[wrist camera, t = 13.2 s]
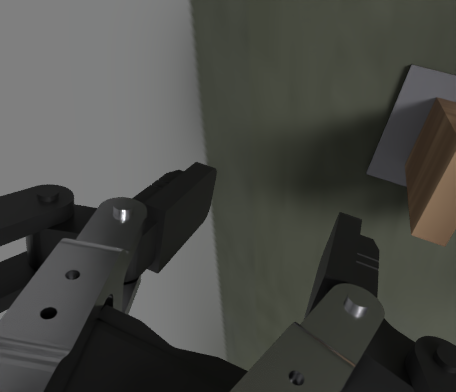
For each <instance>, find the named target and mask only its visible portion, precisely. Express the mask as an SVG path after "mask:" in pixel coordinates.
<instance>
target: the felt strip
mask: <svg viewBox="0 0 456 392" xmlns="http://www.w3.org/2000/svg"><path fill="white" fill-rule="evenodd" d="M436 97H438V98H442V99H446V100H449V101H453V102H456V75H453V74H449V73H445V72H441V71H436V70H432V69H428V68H424V67H420V66H416V65H412V64H411V67H410V69H409V71H408V74H407V76H406V79H405V81H404V83H403V86H402V88H401V91H400V93H399V95H398V98H397V100H396V103H395V105H394V107H393V110H392V112H391V115H390V117H389V119H388V122H387V124H386V127H385V129H384V131H383V134H382V136H381V139H380V141H379V143H378V146H377V148H376V151H375V153H374V155H373V158H372V160H371V163H370V165H369V167H368V170H367V173H366V174H368V175H371V176H374V177H377V178H380V179H384V180H387V181H390V182H393V183H396V184H399V185H402V186H405V187H407V185H406V174H405V164H406V161H407V159H408V157H409V155H410V153H411V151H412V149H413V146H414V144H415V142H416V140H417V138H418V136H419V134H420V132H421V129H422V127H423V125H424V123H425V121H426V119H427V117H428V114H429V112H430V110H431V108H432V106H433V104H434V102H435V99H436Z"/></svg>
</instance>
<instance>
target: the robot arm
mask: <svg viewBox="0 0 456 392" xmlns="http://www.w3.org/2000/svg"><path fill="white" fill-rule="evenodd" d="M216 173H217V171H216V169H215V168H213V167H210V166H207V165H204V164H201V163H198V162H196V163H194V164H193V165H192V166H190V167H189V168H188V169H186V170H185V171H181V170H176V171H173V172H169V173H166V174H165V175H164V176H162V177H161V178H159V180H157V181H155V182H154V183H153V184H152V185H150V186H149V187H147V188H146V189H144V190H143V191H142V192H140V193H139V194H138V195H136V196H135V197H134V198H132V199H131V198H125V197H118V198H112V199H108V200H106V201H104V202H103V203H101V204H100V206H99V207H98V208H92V207H87V206H81V205H75V204H74V195H73V193H72V191H71V190H69V189H68V188H66V187H63V186H59V185H40V186H35V187H31V188H28V189H25V190H21V191H18V192H14V193H11V194H7V195H4V196H0V246H2V245H5V244H7V243H10V242H12V241H15V240H18V239H20V238H23V237H26V246H27V251H26V252H23V253H21V254H19V255H16V256H14V257H11V258H9V259H6V260H4V261H2V262H0V313H1V312H3V311H5V310H7V309H8V310H7V312H6V313H5V314H4V316H3V317H2V318H1V320H0V392H456V346H455V345H453V344H452V343H450V342H448V341H446V340H444V339H441V338H438V337H433V336H424V337H421V338H419V339H418V340H417V341H416V343H415V342H414V341H412V340H411V339H409V338H408V337H406V336H405V335H403V334H402V333H400V332H399V331H397V330H396V329H394V328H393V327H392V326H391V325H390V324H389V323H388V322H387V321H386V320H385V319H384V316H385V312H384V308H383V306H382V304H381V303H380V301H379V300H378V299H377V292H378V269H379V262H378V261H379V249H378V247H377V245H376V244H375V242H374V240H373V239H371V238H368V237H365V236H363V235H360V231H361V223H362V219H359V218H356V217H353V216H350V215H347V214H344V213H342V212H340V213H339V215H338V217H337V220H336V222H335V225H334V227H333V230H332V232H331V235H330V237H329V240H328V242H327V245H326V247H325V250H324V252H323V255H322V258H321V261H320V264H319V267H318V271H317V274H316V278H315V281H314V285H313V289H312V292H311V296H310V300H309V303H308V307H307V310H306V314H305V318H304V320H303V322H302V323H301V324H298V323H297V322H294V323H292V324H291V325H290V326H289V327H288V328H287V329H286V330H285V331H284V333H283V334H282V335H281V336H280V337H279V338H278V339H277V340H276V341H275V342H274V344H273V345H272V346H271V347H270V348H269V349H268V350H267V351H266V352H265V353H264V354H263V356H262V357H261V358H260V359H259V360H258V361H257V362H256V363H255V364H254V365H253V367H252V368H251V369H250V370H249V371H246V370H244V369H242V368H240V367H238V366H236V365H233V364H231V363H229V362H227V361H225V360H223V359H220V358H218V357H214V356H210V355H205V354H200V353H196V352H192V351H187V350H182V349H178V348H175V347H173V346H171V345H169V344H168V343H167V342H166V341H165V340H163V339H162V338H161V337H160V336H159V335H157V334H156V333H155V332H154V331H153V330H151V329H150V328H149V327H148V326H147V325H145V324H144V323H143V322H142V321H140V320H138V319H136V318H134V317H132V316H130V315H128V313H129V311H130V308H131V306H132V303H133V300H134V297H135V295H136V293H137V290H138V288H139V285H140V282H141V274H142V273H143V272H144V271H145V270H146V269H149V270H151V271H153V272H155V273H159V272H160V271H161V270H162V269H163V267H164V266H165V265H166V264H167V263H168V262H169V261H170V259H171V258H172V257H173V256H174V255H175V254H176V253H177V251H178V250H179V249H180V248H181V247H182V246H183V245H184V243H185V242H186V241H187V240H188V239H189V238H190V237H191V236H192V234H193V233H194V232H195V231H196V230H197V229H198V228H199V226H200V225H201V224H202V223H203V222H204V220H205V219H206V217H207V215H208V212H209V209H210V206H211V200H212V195H213V190H214V185H215V180H216Z"/></svg>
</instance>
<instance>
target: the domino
mask: <svg viewBox="0 0 456 392" xmlns="http://www.w3.org/2000/svg"><path fill="white" fill-rule="evenodd" d="M405 174H406V185H407V195H408V206H409V216H410V227H411V235H413V236H416V237H419V238H422V239H424V240H427V241H430V242H433V243H436V244H439V245H442V246H446V244H447V243H448V241H449V239H450V238H451V236H452V234H453V233H454V231H455V229H456V102H453V101H449V100H446V99H442V98H438V97H436V99H435V102H434V104H433V106H432V108H431V110H430V112H429V114H428V117H427V119H426V121H425V123H424V125H423V127H422V129H421V132H420V134H419V136H418V138H417V140H416V142H415V144H414V146H413V149H412V151H411V153H410V155H409V157H408V159H407V161H406V164H405Z"/></svg>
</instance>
